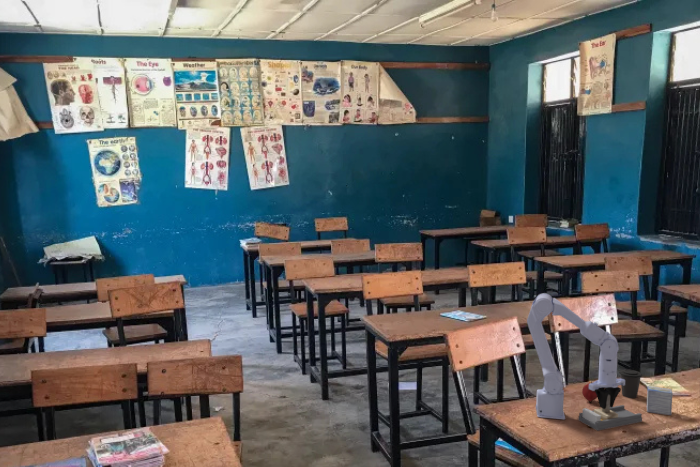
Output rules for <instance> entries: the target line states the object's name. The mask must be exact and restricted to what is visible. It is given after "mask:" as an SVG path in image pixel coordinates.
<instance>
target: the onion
mask: <svg viewBox="0 0 700 467" xmlns="http://www.w3.org/2000/svg"><path fill="white" fill-rule="evenodd" d="M590 383H593V382H592V380H590V381H588V383H587V384H585V385H584V386H583V387H582V390H581V393H582V396H583V397H584V399H585V400H586V401H588V402H589V401H590V402H593V401H595V400H596V399H598V397H597V395H596V393H595V391H592V390H590V389H589V384H590Z"/></svg>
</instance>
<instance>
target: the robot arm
mask: <svg viewBox="0 0 700 467" xmlns="http://www.w3.org/2000/svg"><path fill="white" fill-rule="evenodd" d="M550 314H551V315H552V316H555V317H557V316H560V317H562V318H564V319H565V320H566V321H568V322H569V323H570V324H572V325H574V326H575V327H577V328H578V329H579V331H580V334H581V336H583V337H584V338H586V339H587V340H588V341H590V342H591V343H592V344H593V345H594V346H598V347H599V349H600V352H599V353H600V354H599V358H598V359H599V360H598V361H599V362H598V363H599V364H598V379H597V380H595V381H593V382H592V383H590V384H589V389H590V390H592V391H595V393H596V395H597V400H598V405H599V408H603V409H606V403H607V397H608V395H610V407H611V408H612V407H614V404H615V401H616V399H617V397H618V395H620V392H622V388H620V387H619V386H621V385H623V386H624V385H625V380H624V379H621V377H620V378H617V377H618V376H617V374H618V352H619V349H620V347H619V344H618V339H617V338H616V337H615V336H614V334H611V333H610V332H609V331H605V330H604V329H603V328H601V327H600V326H599V324H598V323H597V322H596V321H594V322H593V321H591V320H584V319H583V318H582V317H580V316H579V315H578V314H577V313H575V312H574V311H573V310H572V309H570V308H569V307H567V306H566V305H565V304H564V303H562V302H561V301H560V300H559V299H557V298H556V297H552V295H550V294H549V293H546V292H544V293H539V294H538V295H537V296H536V297H535V298H534V299H533V301H532V303H531V307H530V310H529V313H528V316H527V319H526V324H527V326H528V329H529V332H530V335H531V338H532V342H533V344H534V347H535V350H536V354H537V357H538V359H539V363H540V366H541V370H542V374H543V375H542V376H543V380H544V381H543V382H544V383H543V387H542V388H541V389H539V388H538V389H537V390H536V398H535V400H536V404H535V410H536V416H537V417H538V418H545V419H555V420H556V419H557V420H566V415H565V413H564V412H565V411H564V399H565V395H564V392H565V390H564V389H563V386H564V384H563V380H564V376H563V374H562V372H561V371H560V370H559V369H558V367H557V364H556V362H555V360H554V357H553V354H552V350H551V346H550V345H549V341H548V339H547V335H546V333H545V329H544V326H543V324H542V322H543V321H544V319H545V318H546V317H547V316H549V315H550Z"/></svg>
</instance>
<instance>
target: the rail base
mask: <svg viewBox="0 0 700 467" xmlns="http://www.w3.org/2000/svg"><path fill="white" fill-rule="evenodd" d="M610 410H611V411H613V412H615V413H617V414H618V417H617V418H612V419H607V420H603V419H601V416H600V415H598V414H596V413H595V412H594V409H593V410H590V409H589V408H586V407H585V408H582V412H579V414H578V421H579V422H581V423H583V424H585V425H586V426H588V427H590V428H592V429H594V430H595V431H602V430H607V429H612V428H618V427H622V426H627V425H633V424H636V423H642V422H643V417H642V416H643V414H642V413H640V412H638V413H633V412H632V411H629V410H627V409H626V408H625V405H624V404H622V405H621V404H620V405H615V406H613V407H612V408H611V407H610Z"/></svg>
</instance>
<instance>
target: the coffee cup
mask: <svg viewBox="0 0 700 467" xmlns="http://www.w3.org/2000/svg"><path fill="white" fill-rule="evenodd" d="M619 375H620V378H621V379H624V380H625V385H624V386H623V385H620V386H621V395H622V396H623V397H625V398H628V399H636V398H638V395H639V389H640V382H641V379H642V378H641V377H642V376H643V374H642V373H641V372H640V371H638V370H634V369H629V368H626V369H621V370H619Z"/></svg>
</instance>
